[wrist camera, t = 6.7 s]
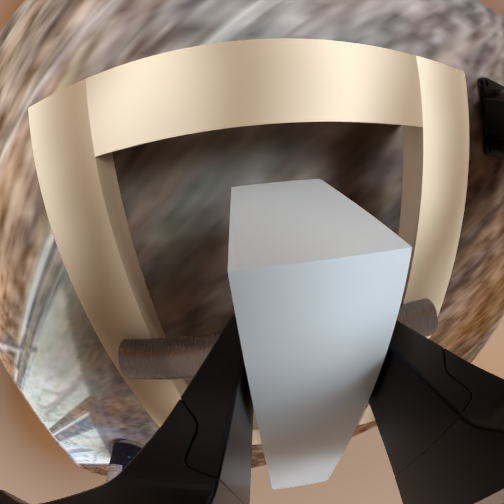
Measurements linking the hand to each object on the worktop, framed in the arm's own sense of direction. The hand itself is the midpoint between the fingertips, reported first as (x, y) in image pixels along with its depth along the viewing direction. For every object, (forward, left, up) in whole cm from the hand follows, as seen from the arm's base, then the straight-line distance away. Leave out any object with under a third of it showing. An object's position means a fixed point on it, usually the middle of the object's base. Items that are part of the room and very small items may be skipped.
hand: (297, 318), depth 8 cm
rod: (0, +4, -3) cm, 5 cm away
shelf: (0, +4, -9) cm, 9 cm away
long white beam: (0, +4, -3) cm, 4 cm away
